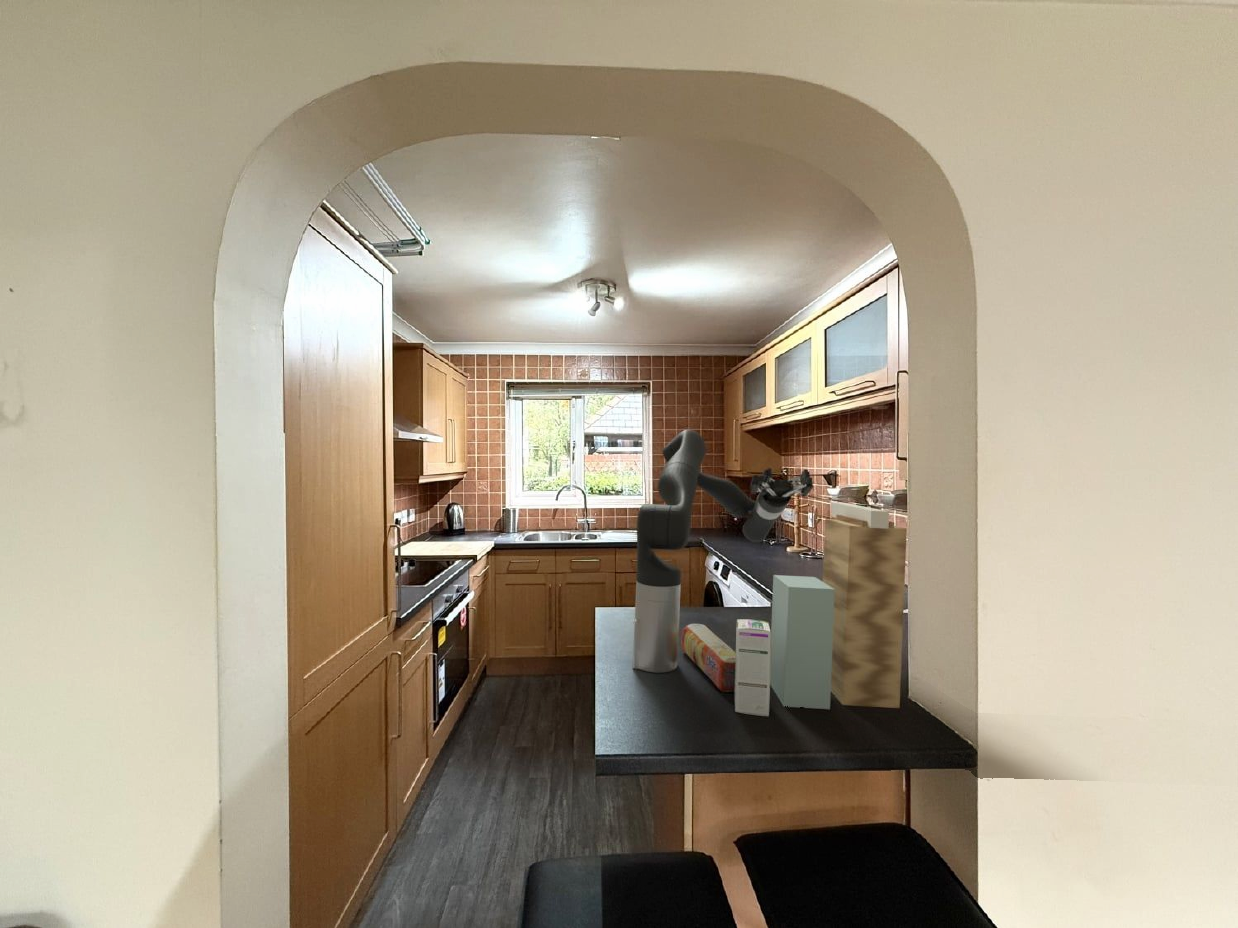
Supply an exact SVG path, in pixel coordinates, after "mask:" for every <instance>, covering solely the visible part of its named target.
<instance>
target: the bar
mask: <svg viewBox="0 0 1238 928" xmlns="http://www.w3.org/2000/svg"><path fill="white" fill-rule="evenodd" d="M836 515H843V516H847V517H852V518H856V519H860V520H864V521H867V527H870V528H885V529H888V528H889V521H890V520H889V519H890V511H888V510H882V509H877V508H873V507H868V506H863V505H859V504H854V503H853V504H852V503H848V502H835V501H832V502H831V501H830V517H834V518H836Z"/></svg>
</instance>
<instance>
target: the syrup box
mask: <svg viewBox="0 0 1238 928" xmlns="http://www.w3.org/2000/svg"><path fill="white" fill-rule="evenodd" d="M736 619H737V618H736ZM735 632H736V634H735V635H736V638H735V652H736V661H735V691H734V711H735V712H736V713H740V714H746V715H752V716H759V717H760V716H761V717H769V715H770V698H771V697H770V696H771V693H770V691H771V689H770V688H771V685H770V647H771V628H770V622H768V621H764V620H758V619H748V618H747V619H739V618H738V619H737V620H736V630H735Z"/></svg>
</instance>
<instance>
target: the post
mask: <svg viewBox="0 0 1238 928" xmlns="http://www.w3.org/2000/svg"><path fill="white" fill-rule="evenodd" d="M772 581H773V582H772V599H771V600H772V601H771V602H772V603H771V628H770V631H771V646H770V688H772V690H773V692H774V693H775V695H776V696H777V698H778V700H779V701H780V703H781V704H782V706H783V707H785V706H786V707H785V708H800V707H804V708H803V709H805V708H806V709H819V710H820V709H821V710H822V709H823V710H830V709H831V696H832V695H831V694H832V692H831V670H832V646H833V621H834V596H835V589H834V588H832V587H830V586H829V585H827V584H825V583H824V582H823V580H821V579H819V578H818V577H816V576H805V575H803V576H800V575H780V574H773V579H772ZM787 706H788V707H787Z"/></svg>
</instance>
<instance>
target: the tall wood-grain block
mask: <svg viewBox="0 0 1238 928" xmlns="http://www.w3.org/2000/svg"><path fill="white" fill-rule="evenodd" d="M835 518H836V519H827V518H826V519H824V539H823V541H824V542H823V560H822V561H823V567H822V582H824V583H825V584H827V585H829V586H830V587H832V588H834V589H835V596H834V621H833V646H832V670H831V694H832V695H833V696H834V695H835V696H834V698H836V699H837V700H838V702H839V703H840V704H841V705H843V706H853V707H854V706H857V707H872V708H873V707H876V708H892V709H900V707H901V705H900V703H901V679H902V659H903V658H902V655H903V654H902V653H903V634H904V633H903V631H904V626H903V625H904V607H905V606H904V604H905V577H906V555H907V528H906V527H901V526H898V525H897V526H896V525H895V522H894V521H890V520H889V528H888V529H885V528H870V527H867V521H864V520H860V519H856V518H852V517H847V516H843V515H836V517H835Z"/></svg>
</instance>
